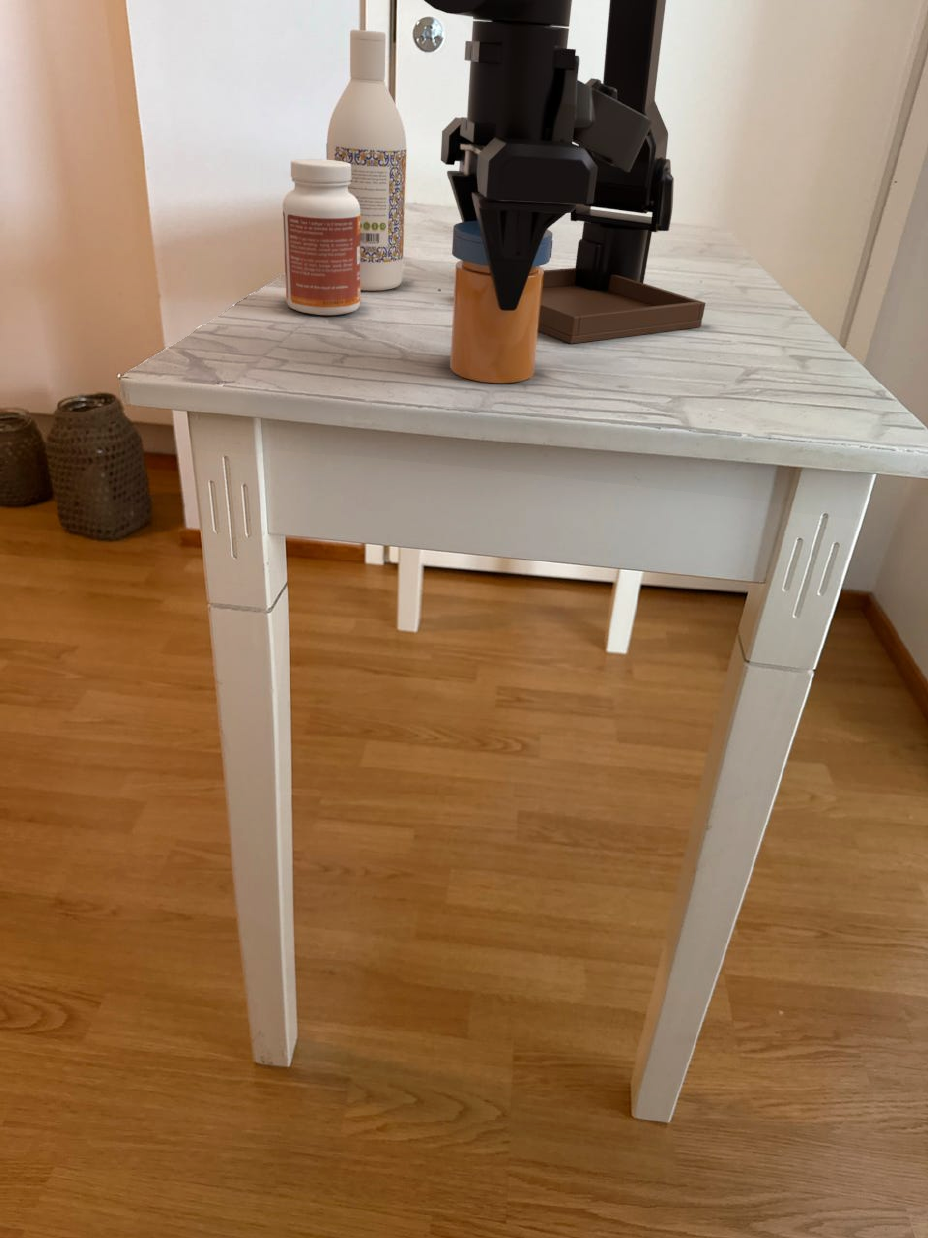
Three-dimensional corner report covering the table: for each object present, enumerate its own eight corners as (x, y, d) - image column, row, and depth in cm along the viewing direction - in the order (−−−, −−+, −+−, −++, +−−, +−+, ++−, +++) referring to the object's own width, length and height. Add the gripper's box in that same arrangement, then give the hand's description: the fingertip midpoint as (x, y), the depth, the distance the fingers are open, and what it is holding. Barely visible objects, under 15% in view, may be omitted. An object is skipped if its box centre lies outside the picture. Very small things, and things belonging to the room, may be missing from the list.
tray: (587, 288, 89) (590, 266, 88) (701, 326, 79) (706, 302, 78) (462, 299, 82) (464, 275, 80) (570, 343, 71) (574, 317, 70)
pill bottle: (373, 313, 75) (375, 166, 69) (306, 319, 72) (302, 166, 66) (339, 296, 79) (338, 156, 73) (274, 301, 76) (268, 156, 70)
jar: (493, 352, 68) (503, 233, 63) (551, 374, 64) (565, 249, 59) (432, 365, 64) (438, 239, 59) (490, 388, 60) (500, 257, 56)
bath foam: (413, 290, 83) (423, 34, 73) (343, 293, 80) (342, 27, 70) (386, 274, 88) (391, 33, 78) (318, 276, 86) (314, 26, 75)
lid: (544, 249, 63) (547, 223, 62) (556, 270, 57) (560, 241, 56) (450, 244, 62) (451, 217, 61) (453, 264, 57) (455, 235, 56)
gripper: (710, 36, 47) (655, 338, 55) (604, 34, 62) (574, 271, 70) (501, 18, 45) (478, 334, 53) (445, 21, 60) (434, 266, 68)
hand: (497, 297), depth 61 cm, fingers closed on lid, 6 cm apart
